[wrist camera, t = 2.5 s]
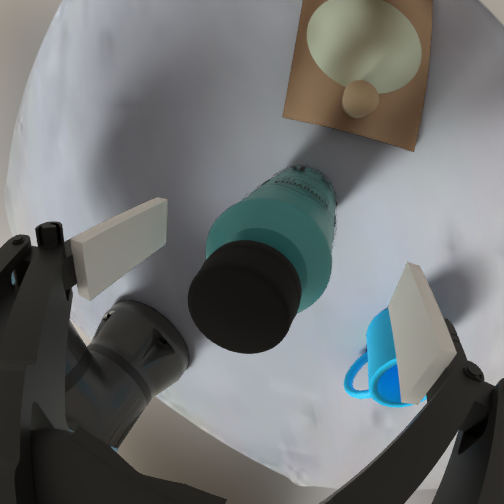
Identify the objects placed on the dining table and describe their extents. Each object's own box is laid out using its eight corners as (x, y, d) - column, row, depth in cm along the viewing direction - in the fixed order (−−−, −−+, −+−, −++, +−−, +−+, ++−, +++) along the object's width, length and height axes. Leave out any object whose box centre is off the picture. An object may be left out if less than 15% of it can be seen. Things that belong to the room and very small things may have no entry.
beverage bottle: (331, 233, 28) (312, 398, 11) (266, 221, 30) (162, 357, 12) (341, 167, 25) (357, 249, 8) (272, 157, 27) (146, 214, 9)
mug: (412, 290, 28) (428, 337, 21) (440, 335, 29) (456, 382, 22) (327, 343, 33) (321, 393, 26) (362, 379, 34) (361, 427, 27)
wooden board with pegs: (285, 118, 25) (267, 112, 18) (311, -35, 17) (301, -74, 10) (409, 150, 23) (435, 157, 16) (428, -6, 15) (450, -38, 8)
